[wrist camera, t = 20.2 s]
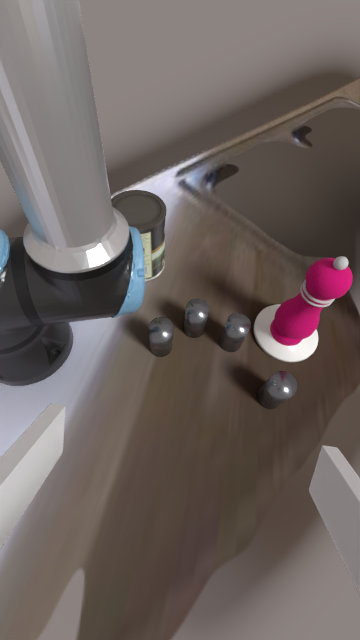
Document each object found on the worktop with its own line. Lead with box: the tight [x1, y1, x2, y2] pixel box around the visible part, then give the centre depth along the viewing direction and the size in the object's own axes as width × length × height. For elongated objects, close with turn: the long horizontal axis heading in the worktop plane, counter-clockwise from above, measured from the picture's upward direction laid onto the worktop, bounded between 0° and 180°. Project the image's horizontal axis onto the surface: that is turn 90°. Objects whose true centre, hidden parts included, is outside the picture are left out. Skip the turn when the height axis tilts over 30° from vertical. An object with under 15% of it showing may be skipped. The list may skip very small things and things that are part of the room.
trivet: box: [253, 304, 318, 363], centre depth 56 cm, size 12×12×1 cm
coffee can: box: [111, 190, 166, 282], centre depth 57 cm, size 10×10×14 cm
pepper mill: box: [270, 257, 352, 346], centre depth 47 cm, size 7×7×20 cm
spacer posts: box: [149, 299, 297, 409], centre depth 49 cm, size 20×18×7 cm
